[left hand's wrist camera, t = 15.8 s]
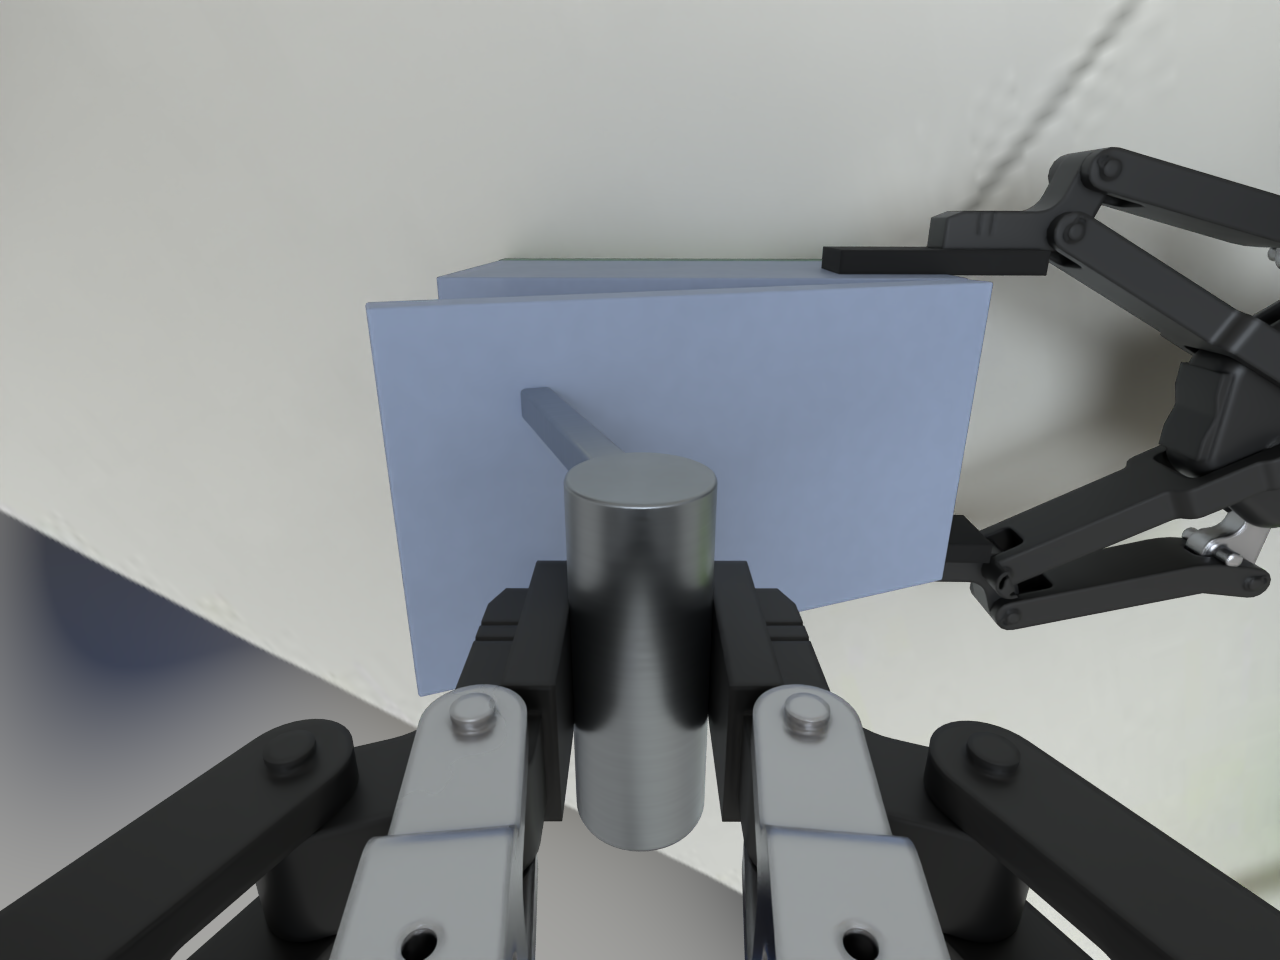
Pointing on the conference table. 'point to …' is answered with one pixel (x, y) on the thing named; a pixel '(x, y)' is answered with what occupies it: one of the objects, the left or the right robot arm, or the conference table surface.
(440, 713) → the left robot arm
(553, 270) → the chest
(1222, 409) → the right robot arm
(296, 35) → the conference table surface
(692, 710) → the lid
